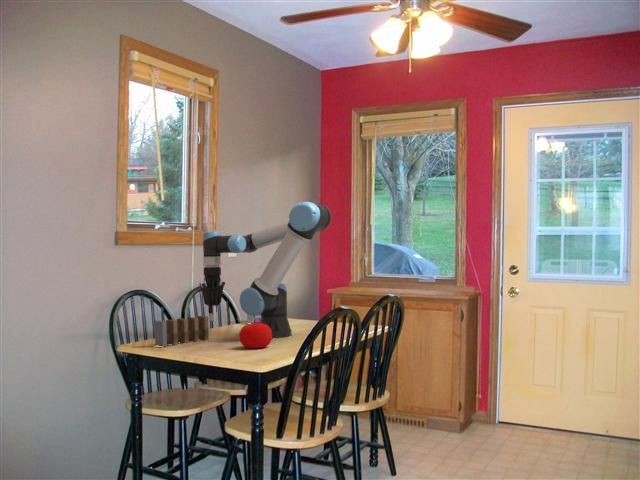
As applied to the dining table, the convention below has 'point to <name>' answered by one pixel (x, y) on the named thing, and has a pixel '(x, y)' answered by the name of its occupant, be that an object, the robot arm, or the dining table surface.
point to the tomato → (255, 335)
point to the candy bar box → (254, 318)
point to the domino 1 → (160, 333)
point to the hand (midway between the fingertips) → (213, 320)
